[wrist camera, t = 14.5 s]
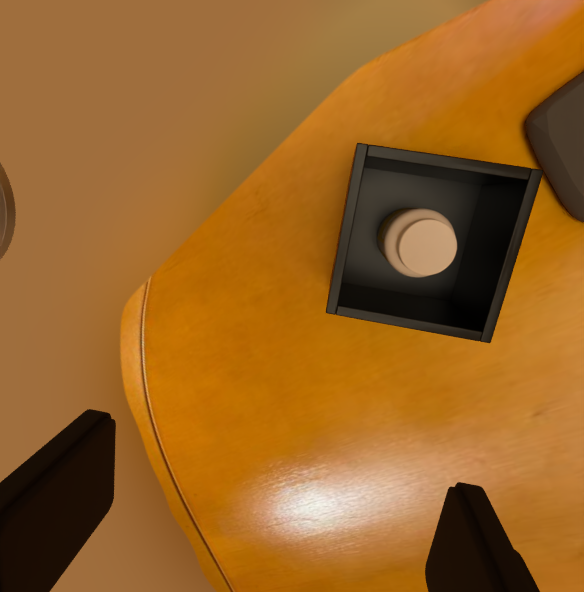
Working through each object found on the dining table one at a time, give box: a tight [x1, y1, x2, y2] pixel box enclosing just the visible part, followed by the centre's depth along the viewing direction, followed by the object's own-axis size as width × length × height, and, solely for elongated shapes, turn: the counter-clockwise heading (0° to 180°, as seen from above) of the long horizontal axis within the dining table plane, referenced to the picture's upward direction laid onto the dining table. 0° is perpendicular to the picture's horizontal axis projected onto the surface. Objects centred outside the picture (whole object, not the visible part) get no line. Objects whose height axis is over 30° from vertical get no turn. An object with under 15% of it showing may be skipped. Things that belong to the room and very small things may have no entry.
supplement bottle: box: [377, 208, 457, 277], centre depth 32 cm, size 5×5×10 cm
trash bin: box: [326, 143, 543, 343], centre depth 33 cm, size 13×13×10 cm
